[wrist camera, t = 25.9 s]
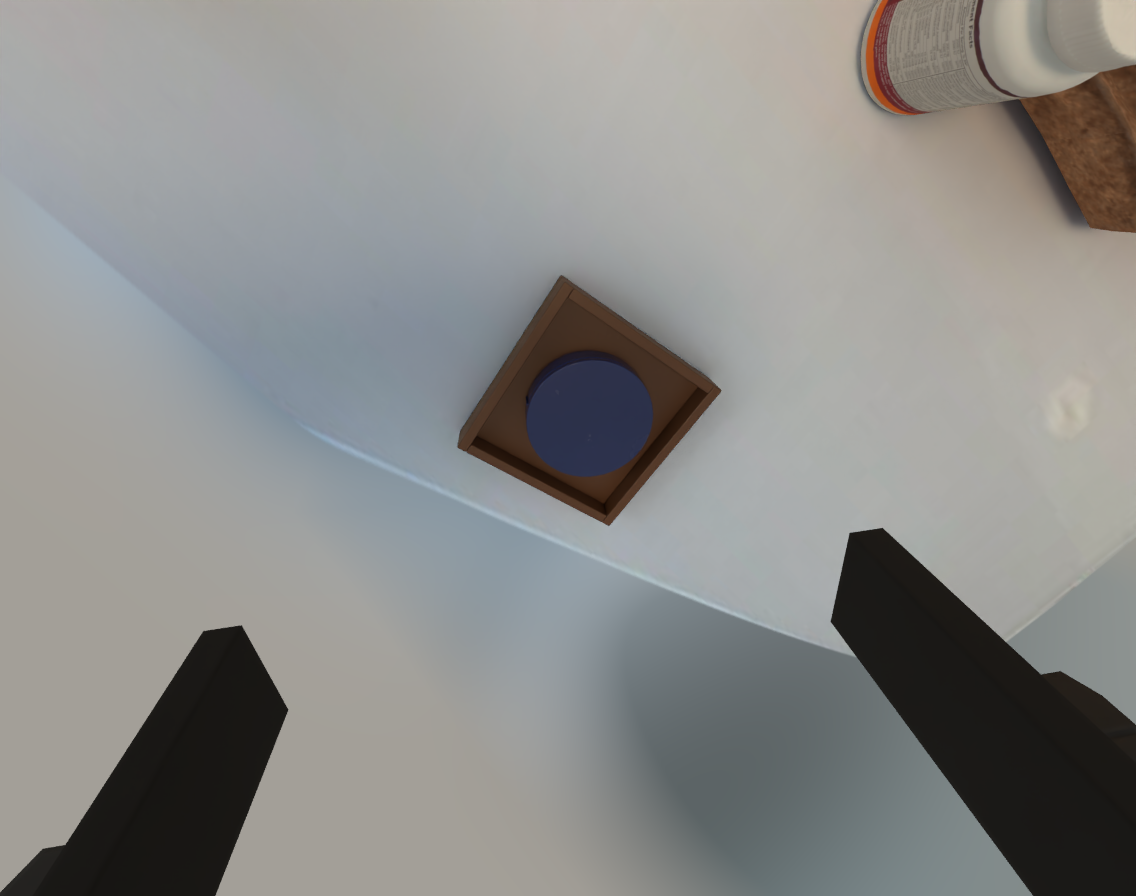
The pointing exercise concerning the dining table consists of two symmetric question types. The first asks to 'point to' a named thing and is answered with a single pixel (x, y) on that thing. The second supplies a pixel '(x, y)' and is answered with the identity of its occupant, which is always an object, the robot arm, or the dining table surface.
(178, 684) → the robot arm
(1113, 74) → the bread
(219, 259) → the dining table surface
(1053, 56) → the pill bottle
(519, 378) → the tray
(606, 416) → the jar lid
